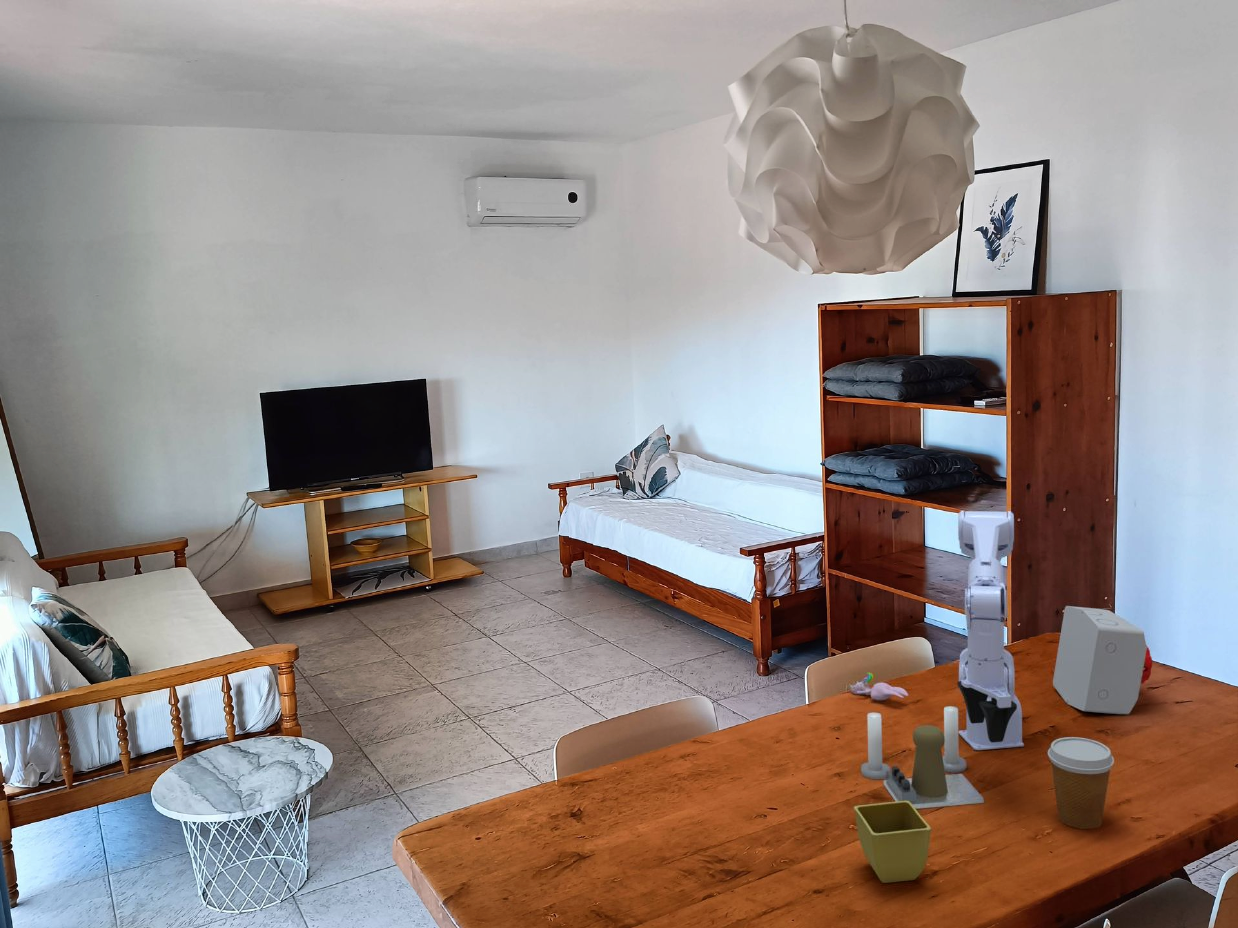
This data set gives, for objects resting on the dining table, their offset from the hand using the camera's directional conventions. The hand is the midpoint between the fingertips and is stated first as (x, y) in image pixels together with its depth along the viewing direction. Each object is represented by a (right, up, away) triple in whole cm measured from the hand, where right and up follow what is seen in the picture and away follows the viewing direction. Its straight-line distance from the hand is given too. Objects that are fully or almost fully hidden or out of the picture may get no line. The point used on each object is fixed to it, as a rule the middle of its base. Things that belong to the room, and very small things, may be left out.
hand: (986, 731), depth 166 cm
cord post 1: (-16, -10, +10) cm, 21 cm away
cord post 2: (-2, -9, +10) cm, 14 cm away
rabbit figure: (-7, -5, +42) cm, 43 cm away
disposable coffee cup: (+11, -12, -10) cm, 19 cm away
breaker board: (-9, -11, +1) cm, 14 cm away
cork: (-9, -10, +1) cm, 14 cm away
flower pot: (-22, -15, -21) cm, 34 cm away
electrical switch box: (+38, -3, +34) cm, 51 cm away
